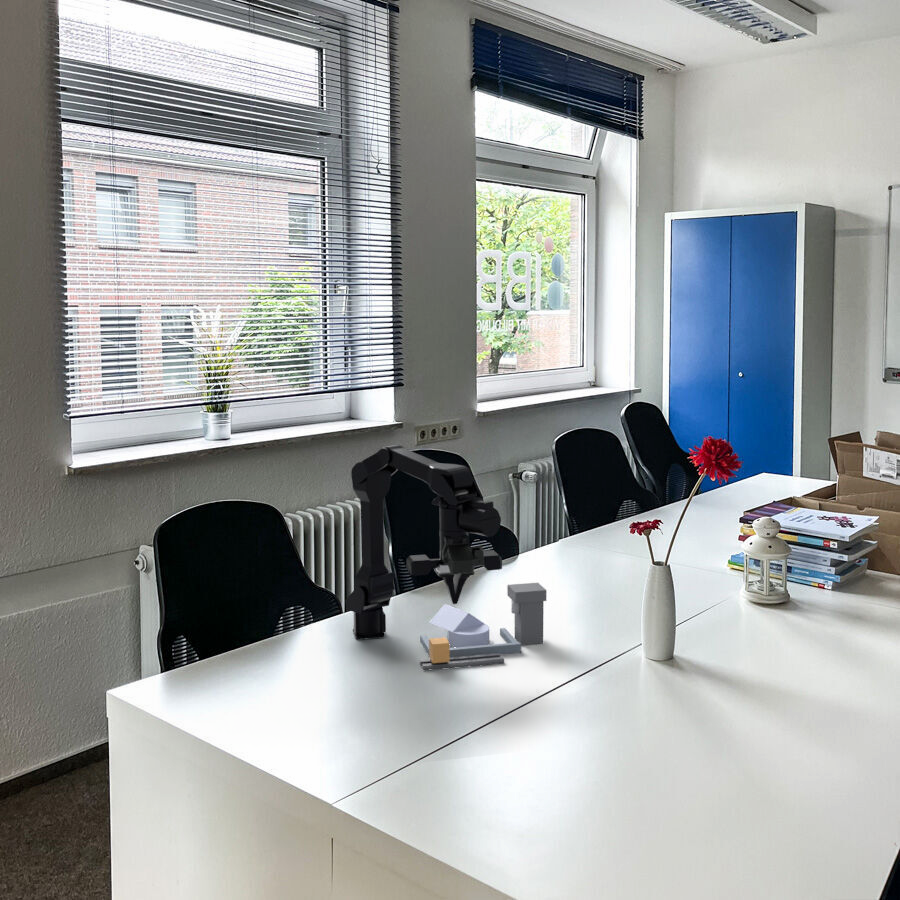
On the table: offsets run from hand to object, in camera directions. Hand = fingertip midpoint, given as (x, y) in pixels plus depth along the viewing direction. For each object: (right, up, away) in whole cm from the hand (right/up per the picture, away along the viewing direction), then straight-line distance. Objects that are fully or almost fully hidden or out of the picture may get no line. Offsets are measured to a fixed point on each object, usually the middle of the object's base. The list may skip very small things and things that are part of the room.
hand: (454, 603), depth 203 cm
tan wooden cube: (-3, -13, +1) cm, 13 cm away
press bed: (+7, -11, +13) cm, 18 cm away
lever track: (+2, -13, +2) cm, 13 cm away
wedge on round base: (+2, -11, +17) cm, 20 cm away
